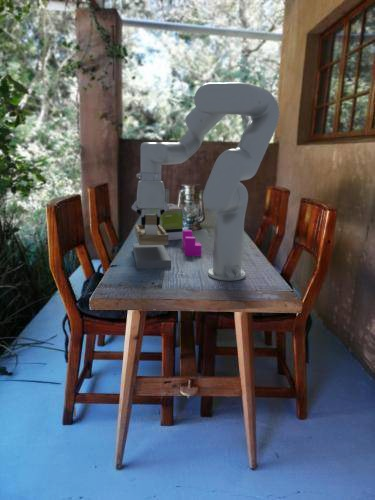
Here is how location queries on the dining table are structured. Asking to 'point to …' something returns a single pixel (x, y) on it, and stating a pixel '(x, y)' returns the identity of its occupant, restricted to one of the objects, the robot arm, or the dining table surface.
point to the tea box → (172, 221)
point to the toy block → (190, 244)
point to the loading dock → (151, 256)
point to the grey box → (151, 229)
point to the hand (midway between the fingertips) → (150, 226)
